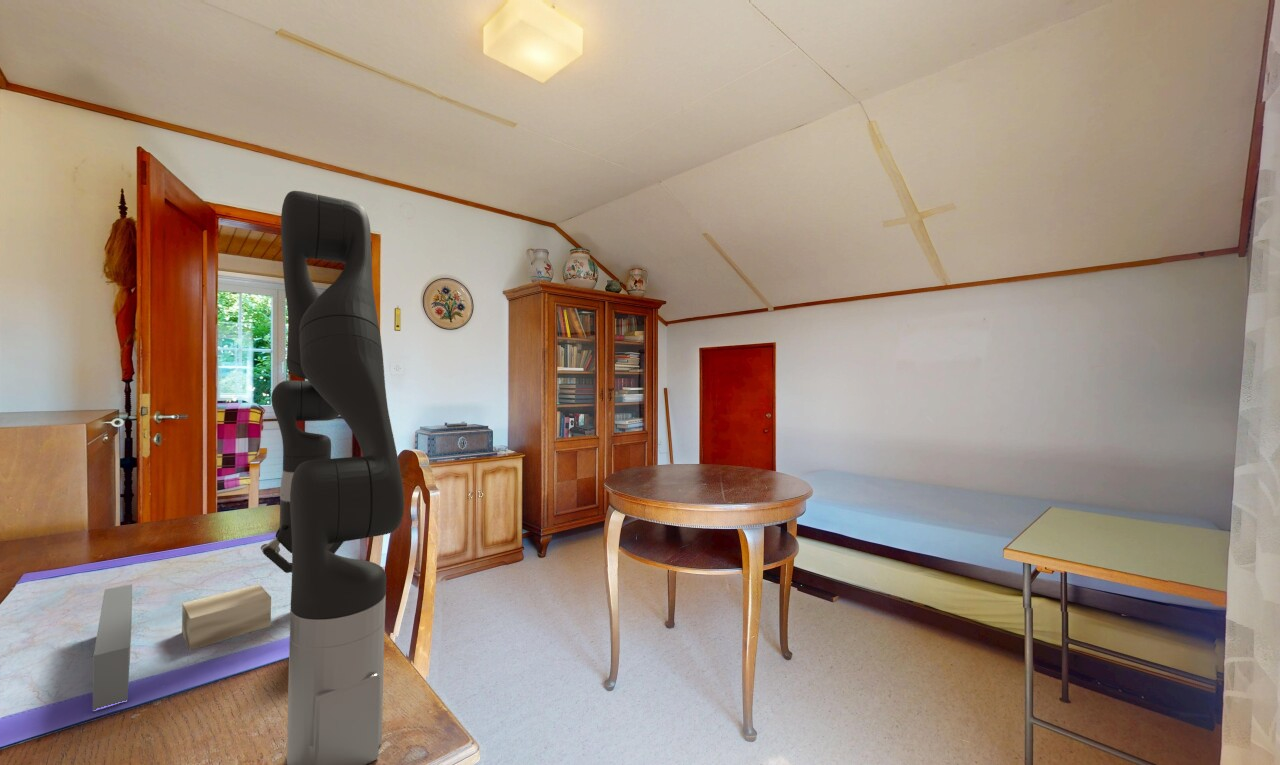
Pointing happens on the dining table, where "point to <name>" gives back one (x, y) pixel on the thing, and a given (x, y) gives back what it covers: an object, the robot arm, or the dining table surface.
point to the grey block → (113, 648)
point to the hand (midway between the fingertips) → (304, 591)
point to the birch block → (225, 616)
